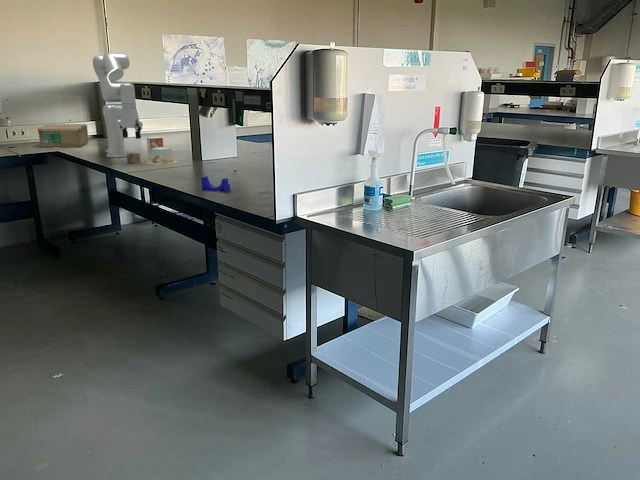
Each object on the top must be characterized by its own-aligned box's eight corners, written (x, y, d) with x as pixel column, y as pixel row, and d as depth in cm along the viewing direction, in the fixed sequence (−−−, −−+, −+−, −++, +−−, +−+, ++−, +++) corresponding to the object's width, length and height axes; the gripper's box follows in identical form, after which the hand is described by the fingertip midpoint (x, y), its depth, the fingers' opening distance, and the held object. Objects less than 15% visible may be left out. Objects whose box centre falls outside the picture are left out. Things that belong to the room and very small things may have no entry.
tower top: (151, 155, 303) (150, 148, 302) (161, 153, 310) (160, 147, 309) (162, 156, 300) (161, 149, 298) (171, 154, 306) (171, 148, 305)
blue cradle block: (230, 190, 240) (229, 177, 238) (225, 192, 235) (224, 179, 234) (207, 188, 243) (206, 175, 242) (201, 190, 239) (201, 177, 238)
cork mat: (144, 163, 303) (144, 162, 303) (161, 160, 315) (161, 159, 315) (163, 166, 297) (163, 164, 297) (179, 162, 309) (179, 161, 309)
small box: (151, 160, 316) (149, 138, 312) (148, 158, 321) (146, 137, 317) (164, 159, 320) (162, 137, 316) (161, 157, 325) (159, 136, 321)
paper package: (39, 148, 356) (36, 127, 351) (49, 143, 380) (46, 123, 375) (82, 147, 361) (79, 127, 357) (89, 143, 385) (86, 123, 381)
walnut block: (127, 164, 300) (126, 154, 298) (134, 163, 305) (133, 152, 303) (134, 165, 298) (133, 154, 296) (140, 164, 302) (139, 153, 301)
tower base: (150, 162, 304) (150, 155, 303) (161, 160, 312) (161, 153, 310) (162, 163, 300) (162, 156, 299) (173, 161, 308) (173, 154, 307)
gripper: (112, 106, 292) (115, 137, 297) (135, 107, 285) (138, 139, 290) (122, 106, 298) (125, 136, 303) (145, 106, 291) (148, 138, 296)
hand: (131, 138), depth 296 cm, fingers open, 9 cm apart
